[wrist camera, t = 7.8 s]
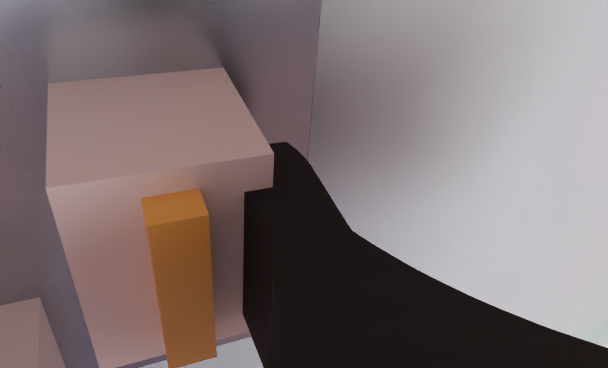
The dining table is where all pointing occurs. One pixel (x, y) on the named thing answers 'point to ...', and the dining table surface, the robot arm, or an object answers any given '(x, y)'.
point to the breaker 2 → (154, 208)
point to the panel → (116, 63)
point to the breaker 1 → (27, 337)
